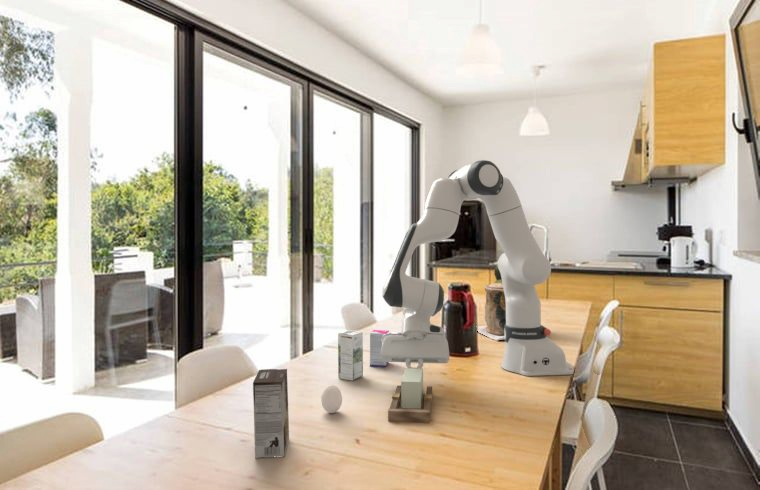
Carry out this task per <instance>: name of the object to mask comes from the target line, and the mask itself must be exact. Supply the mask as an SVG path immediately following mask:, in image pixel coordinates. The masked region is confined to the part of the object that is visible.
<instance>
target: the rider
mask: <svg viewBox="0 0 760 490" xmlns="http://www.w3.org/2000/svg"><path fill="white" fill-rule="evenodd" d="M400 386H401V399H400V403H401V409H415V410H422V403H423V397H424V368H423V367H422V368H417V367H411V368H407V367H405V369H404V371H403V375H402V377H401V380H400Z"/></svg>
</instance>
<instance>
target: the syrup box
mask: <svg viewBox="0 0 760 490" xmlns="http://www.w3.org/2000/svg"><path fill="white" fill-rule="evenodd" d="M337 338H338V339H337V350H338V351H337V352H338V353H337V355H338V357H337V360H338V361H337V362H338V364H337V365H338V367H337V370H338V371H337V373H338V379H341V380H347V381H352V382H353V381H355V380H357V379H359V378H361V377H363V375H364V374H363V373H364V370H363V369H364V360H363V359H364V355H363V354H364V345H363V344H364V341H363V338H364V336H363V332H362V331H361V330H360V331H359V330H356V329H355V330H354V329H347V330H344V331H341V332H338V334H337Z"/></svg>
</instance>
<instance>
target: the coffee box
mask: <svg viewBox="0 0 760 490" xmlns="http://www.w3.org/2000/svg"><path fill="white" fill-rule="evenodd" d="M252 390H253V391H252V392H253V394H252V395H253V427H254V428H253V429H254V431H253V432H254V433H253V434H254V437H253V438H254V458H255V459H259V458H258V457H274V456H276V457H275V458H278V457H277V456H284V455H285V456H286V453H287V450H286V449H287V448H288V444H289V440H290V426H289V425H290V421H289V396H288V395H289V394H288V393H289V391H288V390H289V389H288V368H283V369H282V368H280V369H278V368H266V369H259V370H258V372H257V374H256V375H255V377H254V380H253V382H252Z"/></svg>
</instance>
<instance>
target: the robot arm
mask: <svg viewBox="0 0 760 490" xmlns="http://www.w3.org/2000/svg"><path fill="white" fill-rule="evenodd" d="M519 197H520V196H519V195H518V193H517V190H516V189H515V186H514V184H513V183H512V182H511V180H510V179H509V178H508V177H505V176H503V174H502V172H501V171H500V168H499V167H498V166H497V165H496V164H495V163H494V162H492V161H490V160H486V159H485V160H484V159H482V160H477V161H474V162H471V163H468V164H464V165H463V166H462V167H460V168H459V169H456V170H454V171H452V172H451V173H450V174H449V175H448V177H440V178H437V179H435V180H434V181H433V183H432V184H431V186H430V189H429V191H428V193H427V197H426V200H425V203H424V204H425V205H424V208H423V213H422V215H421V217H420V218H419V220H418V221H417V222H415V223H412V224H411V225H410V226H409V227H408V229H407V232H406V233H405V236H404V238H403V240H402V242H401V244H400V248H399V250H398V252H397V254H396V258H395V260H394V262H393V264H392V265H393V266H392V268H391V270H390V272H389V275H388V277H387V278H386V280H385V281H384V283H383V284H384V285H383V286H382V298H383V300H384V302H385V303H386V304H387V305H388V306H389V307H394V308H402V315H403V319H402V322H401V323H402V324H401V332H389V333H387V334H384V335H383V336H382V339H381V343H382V347H381V353H380V354H381V359H382V360H383V361H384V362H389V363H405V366H406V368H412V367H411V365H412V364H415V363H416V364H418V365H417V367H416V368H423V367H424V364H447V363H449V362H450V349H449V342H448V339H447V337H446V332H445V328H444V327H442V326H439V325H437V324H436V325H435V324H432V323H431V317H434V316H436V315H437V314H438V313H440V312H441V310H442V309H443V307H444V303H445V291H444V289H443V287H442V285H441V283H439V282H437V281H433V280H430V279H426V278H419V277H414V276H409V275H408V274H406V271H407V269H408V266H409V264H410V261H411V259H412V257H413V253H414V251H415V249H416V248H417V247H419V246H421V245H423V244H424V245H425V244H430V243H431V244H432V243H436V242H440V241H444V240H447V239H449V238H451V237H452V236H453V235H454V234H455V232H456V230H457V227H458V224H459V219H460V214H461V207H462V204H463V202H466V201H467V202H468V201H472V200H477V199H480V200H481V202H483V204H484V206H485V210H486V213H487V216H488V219H489V223H490V226H491V229H492V232H493V235H494V238H495V240H496V241H497V242H498V244H499V245H500V247H501V249H502V251H503V253H502V254H501V255H500V256H499V258H498V260H497V266H498V269H499V271H500V274H501V278H502V284H503V289H504V294H505V302H506V324H505V328H504V339H505V340H504V341H505V343H504V351H503V352H504V353H503V357H502V362H501V365H500V366H501V368H502V369H504V370H505V371H509V372H512V373H516V374H520V375H523V376H525V377H526V376H527V377H531V376H532V377H533V376H534V377H537V376H538V377H539V376H561V375H562V376H567V375H573V374H574V373H575V369H574V367H573V365H572V364H571V363H570V362H568V361H567V358H566V355H565V352H564V350H563V349H562V347H561V346H559V345H558V344H557V343H556V342H554V341H553V340H551V338H549V337H548V336H550V335H551V334H552V331H551V330H550V329H549V328H547V327H545V326H544V325H542V323H541V322H542V317H541V315H542V313H541V311H542V309H541V308H542V307H541V306H542V303H541V300H540V297H539V296H538V293H537V292H538V291H537V289H536V285H540V284H543V283H545V282H546V281H547V280H548V279H549V278H550V275H551V272H552V266H551V262H550V260H549V259H548V258H547V257H546V256H545V254H544V253H543V251H542V250H541V248H540V246H539V244H538V242H537V241H536V239H535V236H534V235H533V233H532V231H531V229H530V227H529V225H528V224H529V223H528V221H527V218H526V216H525V213H524V212H525V211H524V209H523V206H522V204H521V200H520V198H519Z"/></svg>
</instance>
